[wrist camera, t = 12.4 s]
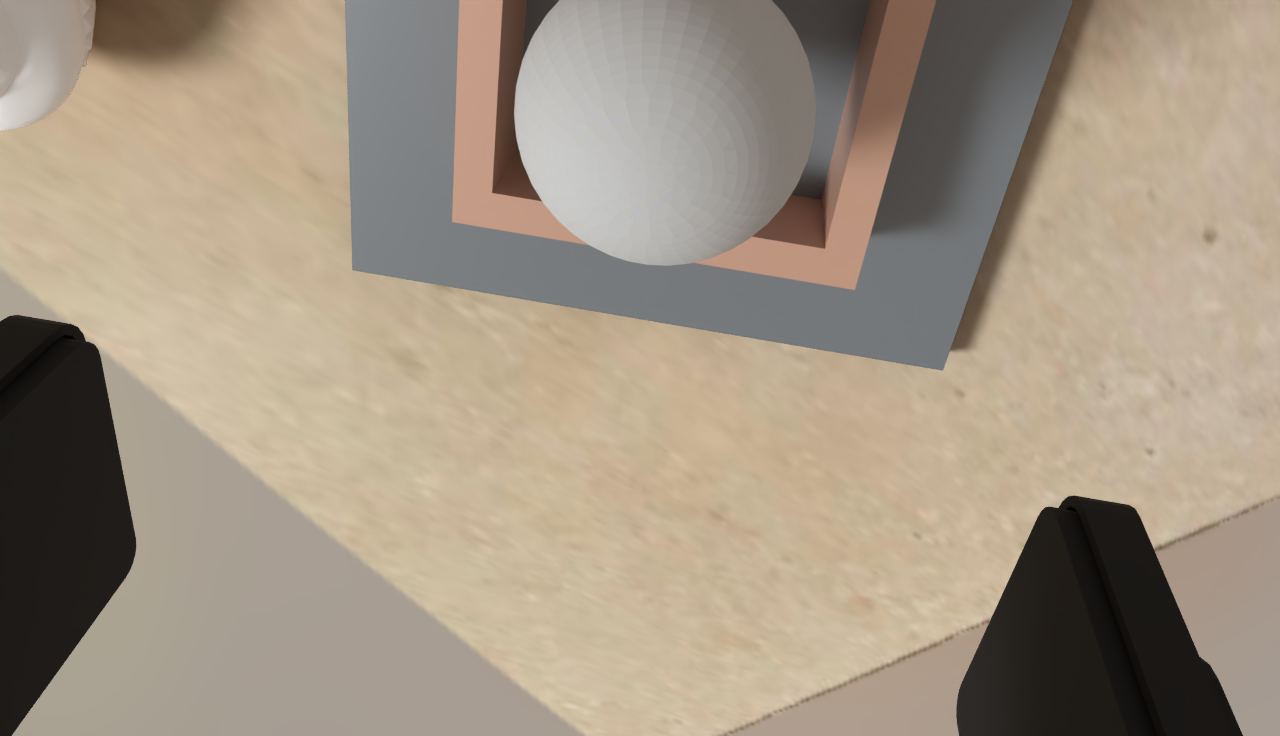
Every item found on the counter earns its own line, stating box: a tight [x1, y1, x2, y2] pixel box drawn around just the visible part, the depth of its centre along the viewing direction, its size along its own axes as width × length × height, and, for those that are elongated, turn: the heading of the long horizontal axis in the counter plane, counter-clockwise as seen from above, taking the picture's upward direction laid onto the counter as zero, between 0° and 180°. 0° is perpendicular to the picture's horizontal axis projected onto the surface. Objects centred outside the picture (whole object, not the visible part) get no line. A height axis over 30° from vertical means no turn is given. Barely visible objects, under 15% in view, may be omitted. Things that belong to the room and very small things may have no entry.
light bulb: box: [514, 0, 816, 266], centre depth 22 cm, size 6×6×10 cm
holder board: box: [345, 0, 1073, 370], centre depth 26 cm, size 18×18×4 cm
